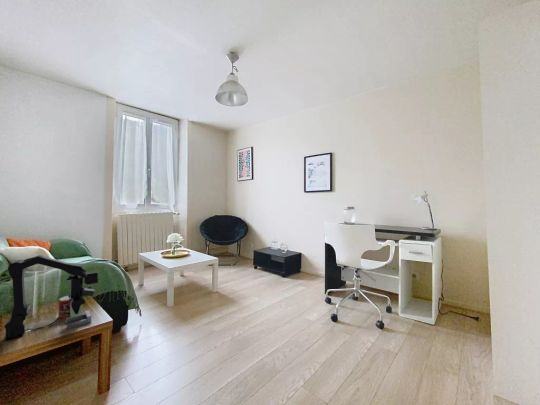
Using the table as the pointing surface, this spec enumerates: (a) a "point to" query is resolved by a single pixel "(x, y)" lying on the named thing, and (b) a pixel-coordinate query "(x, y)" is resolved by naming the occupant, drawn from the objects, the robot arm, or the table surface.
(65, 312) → the canned food
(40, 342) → the table surface
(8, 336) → the robot arm
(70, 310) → the chute block
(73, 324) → the side mount
